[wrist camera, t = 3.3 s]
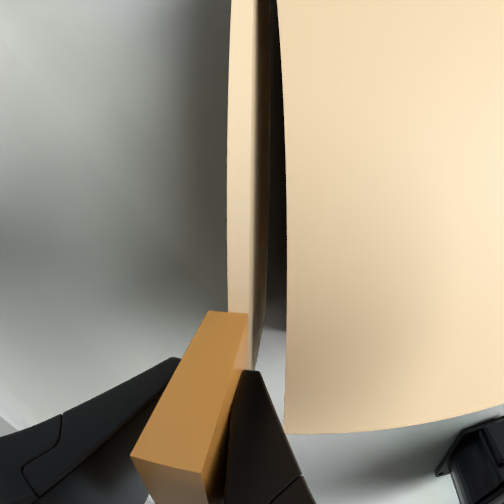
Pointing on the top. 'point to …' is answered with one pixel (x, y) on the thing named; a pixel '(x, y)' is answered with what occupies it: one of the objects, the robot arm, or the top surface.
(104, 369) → the top surface
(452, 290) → the carton
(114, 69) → the top surface
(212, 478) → the carton flap
